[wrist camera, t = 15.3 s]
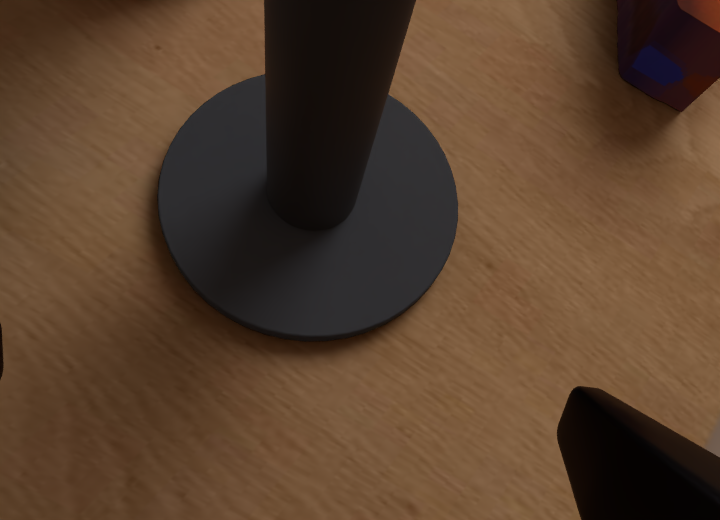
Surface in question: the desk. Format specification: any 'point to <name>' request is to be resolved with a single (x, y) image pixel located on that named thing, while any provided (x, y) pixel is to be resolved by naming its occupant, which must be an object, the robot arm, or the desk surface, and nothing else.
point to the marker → (326, 100)
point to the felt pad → (297, 246)
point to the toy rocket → (669, 47)
